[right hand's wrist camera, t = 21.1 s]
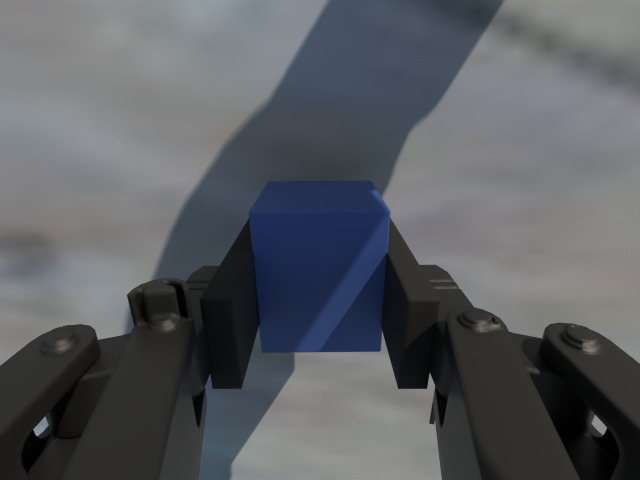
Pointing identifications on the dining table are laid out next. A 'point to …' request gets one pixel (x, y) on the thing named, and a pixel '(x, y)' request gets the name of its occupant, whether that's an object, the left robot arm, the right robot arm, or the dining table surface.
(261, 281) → the brick
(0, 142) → the dining table surface
